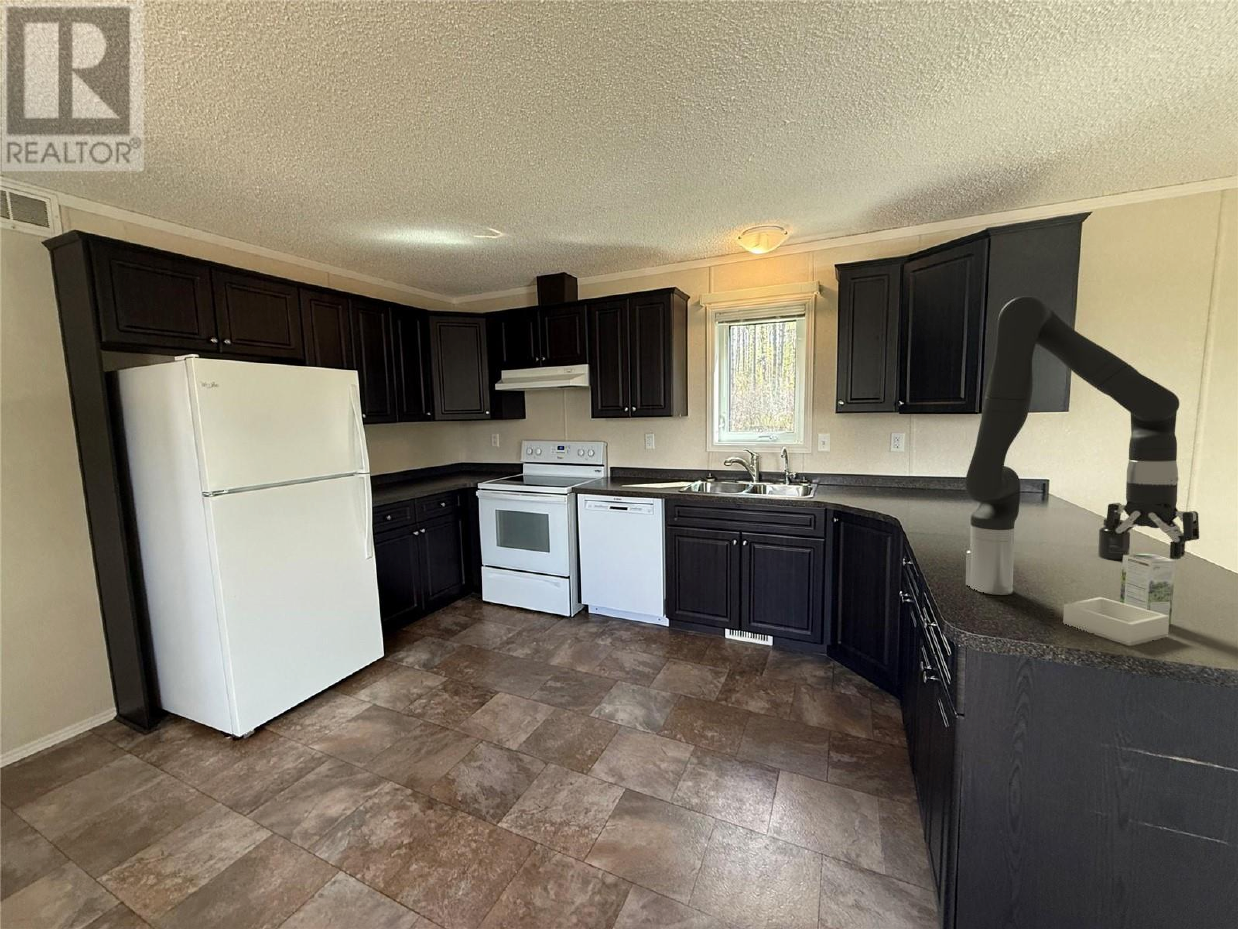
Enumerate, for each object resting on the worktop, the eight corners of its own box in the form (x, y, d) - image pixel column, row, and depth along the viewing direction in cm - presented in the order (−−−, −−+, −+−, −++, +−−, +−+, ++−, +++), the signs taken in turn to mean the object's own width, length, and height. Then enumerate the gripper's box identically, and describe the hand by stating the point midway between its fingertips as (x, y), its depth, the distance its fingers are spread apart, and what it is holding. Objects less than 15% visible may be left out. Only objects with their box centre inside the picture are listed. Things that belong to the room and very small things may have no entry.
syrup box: (1142, 614, 111) (1145, 552, 110) (1172, 624, 106) (1176, 559, 104) (1118, 615, 111) (1121, 553, 110) (1147, 626, 105) (1150, 561, 104)
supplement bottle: (1133, 559, 150) (1135, 520, 149) (1121, 562, 148) (1123, 523, 147) (1105, 553, 156) (1106, 517, 155) (1092, 556, 154) (1094, 519, 153)
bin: (1063, 623, 108) (1063, 604, 108) (1099, 616, 111) (1100, 597, 111) (1129, 646, 97) (1131, 624, 97) (1167, 637, 100) (1169, 615, 100)
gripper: (1099, 479, 112) (1097, 548, 113) (1185, 485, 98) (1182, 564, 99) (1121, 476, 113) (1120, 545, 115) (1209, 482, 100) (1206, 560, 101)
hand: (1149, 553), depth 107 cm, fingers open, 8 cm apart
